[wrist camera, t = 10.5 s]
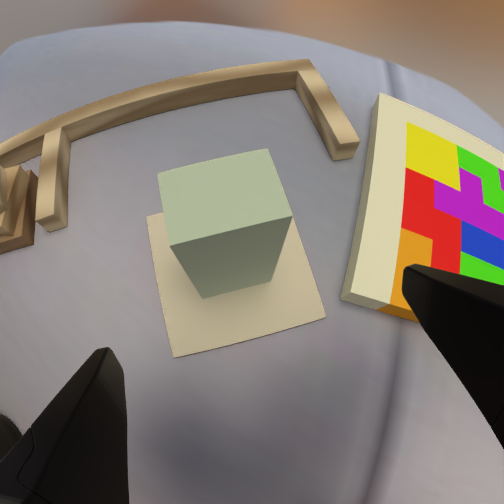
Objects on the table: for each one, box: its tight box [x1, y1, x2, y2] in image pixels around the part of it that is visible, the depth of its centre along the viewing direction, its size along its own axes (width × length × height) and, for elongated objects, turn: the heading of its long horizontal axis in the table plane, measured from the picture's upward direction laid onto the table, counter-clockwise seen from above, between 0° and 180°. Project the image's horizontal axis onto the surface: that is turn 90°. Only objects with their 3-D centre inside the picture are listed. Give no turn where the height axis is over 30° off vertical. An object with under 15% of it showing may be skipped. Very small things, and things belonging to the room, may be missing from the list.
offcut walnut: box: [0, 170, 39, 254], centre depth 23 cm, size 7×5×2 cm
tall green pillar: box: [157, 148, 293, 299], centre depth 18 cm, size 4×5×10 cm
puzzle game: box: [340, 93, 504, 323], centre depth 22 cm, size 30×3×30 cm
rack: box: [0, 59, 360, 232], centre depth 25 cm, size 12×38×2 cm, turn 105°
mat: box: [147, 212, 326, 358], centre depth 23 cm, size 11×11×1 cm
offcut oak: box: [0, 165, 30, 237], centre depth 21 cm, size 6×4×2 cm, turn 2°
